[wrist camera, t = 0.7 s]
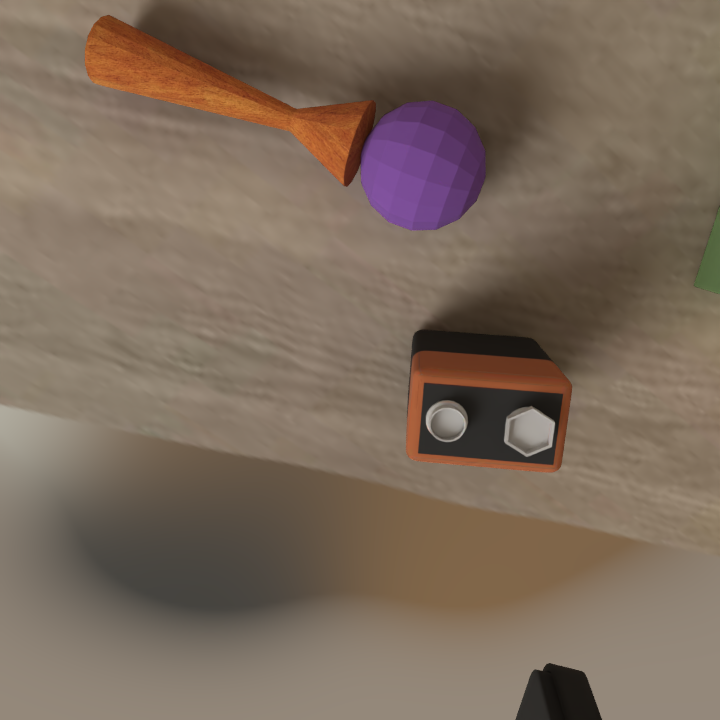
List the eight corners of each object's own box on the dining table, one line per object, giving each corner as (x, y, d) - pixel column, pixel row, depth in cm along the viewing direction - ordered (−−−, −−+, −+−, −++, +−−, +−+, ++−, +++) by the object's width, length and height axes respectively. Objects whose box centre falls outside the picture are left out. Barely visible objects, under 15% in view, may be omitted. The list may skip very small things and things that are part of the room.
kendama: (95, -41, 30) (512, 108, 29) (149, 21, 36) (496, 147, 35) (52, 85, 31) (461, 238, 29) (112, 126, 36) (454, 255, 35)
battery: (527, 412, 38) (566, 485, 28) (407, 402, 38) (404, 471, 28) (537, 336, 36) (581, 385, 27) (413, 327, 37) (412, 372, 27)
